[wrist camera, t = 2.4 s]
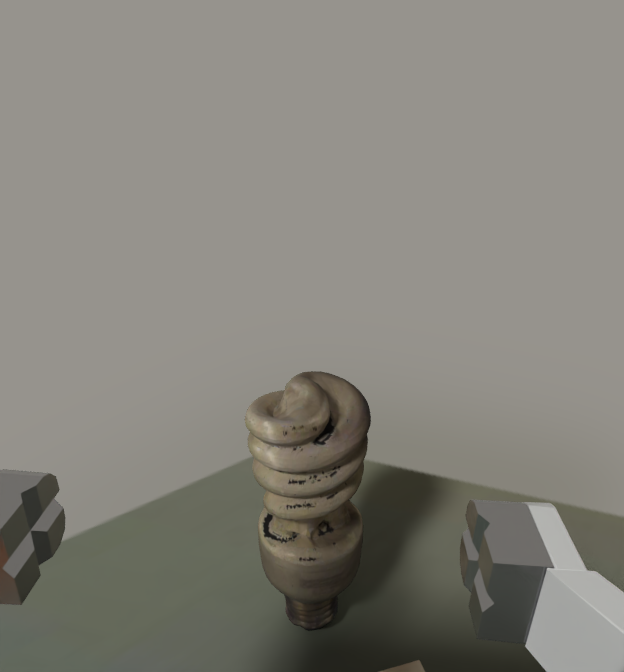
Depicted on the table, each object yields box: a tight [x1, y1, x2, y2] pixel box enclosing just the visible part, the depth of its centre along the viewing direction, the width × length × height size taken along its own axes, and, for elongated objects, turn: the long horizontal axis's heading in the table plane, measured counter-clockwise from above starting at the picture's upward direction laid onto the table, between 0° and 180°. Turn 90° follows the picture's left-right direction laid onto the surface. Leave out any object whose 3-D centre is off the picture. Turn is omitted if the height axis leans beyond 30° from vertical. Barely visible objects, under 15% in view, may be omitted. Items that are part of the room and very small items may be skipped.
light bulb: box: [245, 372, 371, 631], centre depth 26 cm, size 6×6×15 cm
